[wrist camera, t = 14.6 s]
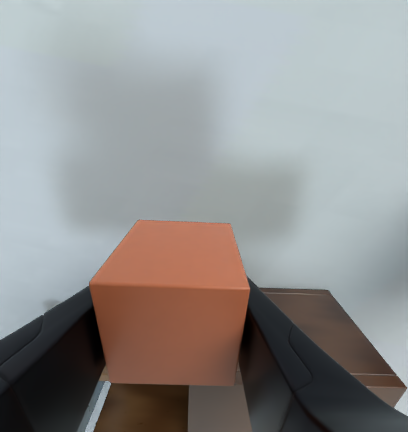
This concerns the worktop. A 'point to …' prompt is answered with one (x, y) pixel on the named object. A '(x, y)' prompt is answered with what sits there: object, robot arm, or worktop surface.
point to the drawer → (139, 407)
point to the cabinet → (324, 337)
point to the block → (172, 304)
